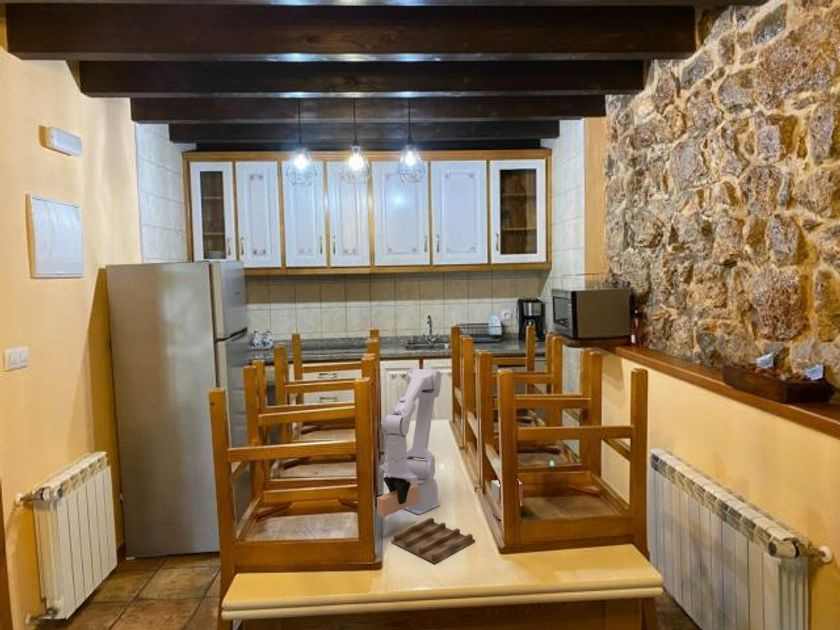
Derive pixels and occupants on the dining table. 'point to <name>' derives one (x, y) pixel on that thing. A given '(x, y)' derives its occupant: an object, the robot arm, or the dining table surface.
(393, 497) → the clay block
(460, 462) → the dining table surface
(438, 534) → the rack
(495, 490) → the small box
